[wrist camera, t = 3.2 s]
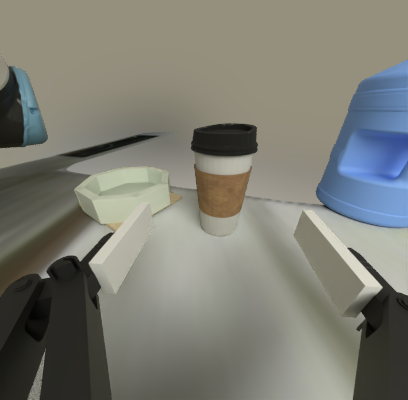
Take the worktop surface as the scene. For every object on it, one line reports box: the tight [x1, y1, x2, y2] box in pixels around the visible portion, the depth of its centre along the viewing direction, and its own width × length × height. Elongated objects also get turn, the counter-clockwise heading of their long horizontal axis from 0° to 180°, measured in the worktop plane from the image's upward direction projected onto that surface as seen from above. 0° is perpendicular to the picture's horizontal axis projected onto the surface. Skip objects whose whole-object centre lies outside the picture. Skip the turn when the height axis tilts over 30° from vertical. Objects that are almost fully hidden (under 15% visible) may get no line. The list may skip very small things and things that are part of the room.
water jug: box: [316, 60, 408, 228], centre depth 26 cm, size 16×16×28 cm
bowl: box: [74, 166, 181, 232], centre depth 32 cm, size 15×15×5 cm
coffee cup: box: [191, 123, 258, 236], centre depth 23 cm, size 8×8×15 cm
